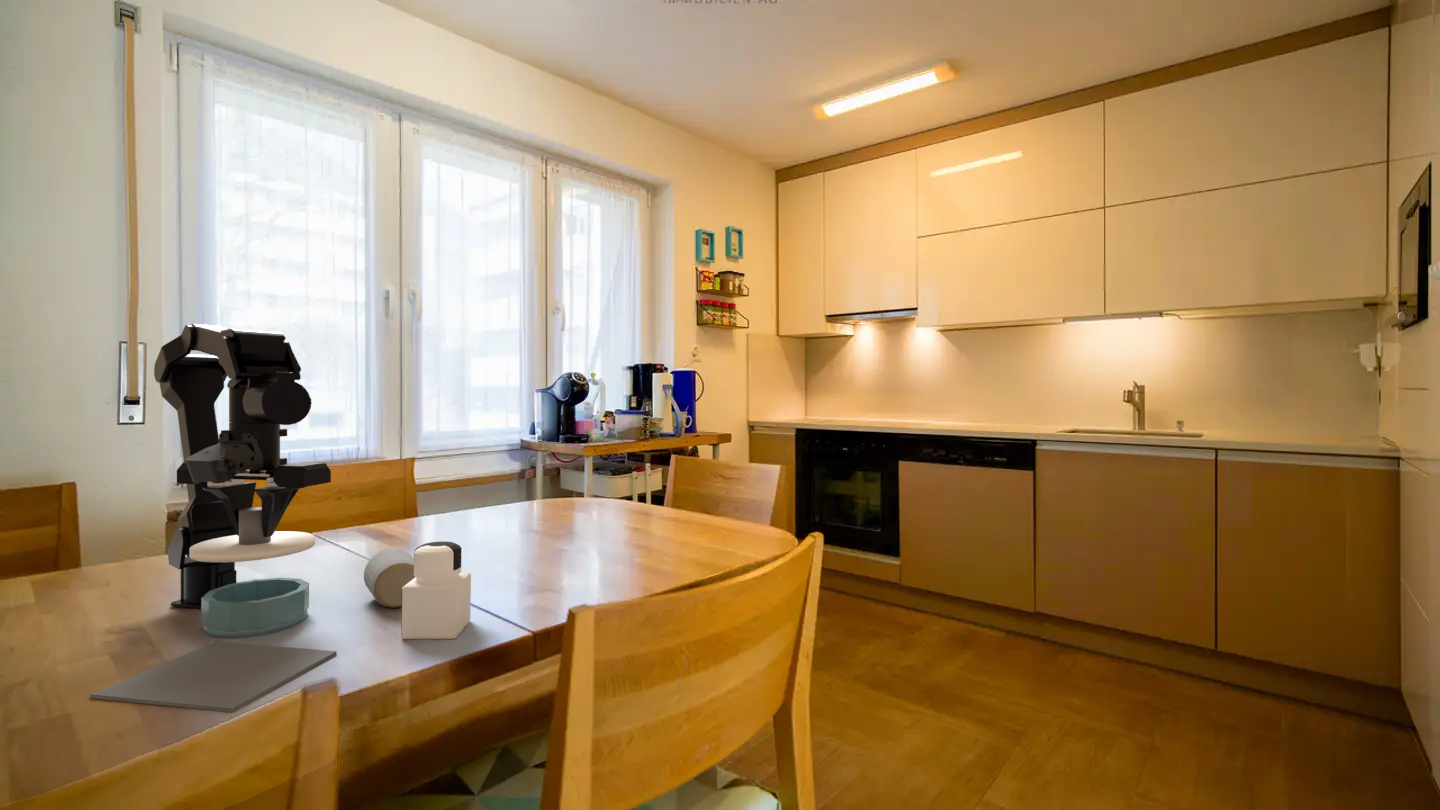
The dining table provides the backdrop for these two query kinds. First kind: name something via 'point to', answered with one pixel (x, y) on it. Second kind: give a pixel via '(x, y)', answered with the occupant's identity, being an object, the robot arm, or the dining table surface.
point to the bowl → (254, 607)
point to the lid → (251, 542)
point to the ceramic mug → (389, 576)
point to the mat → (216, 676)
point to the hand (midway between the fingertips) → (254, 536)
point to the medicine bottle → (436, 594)
